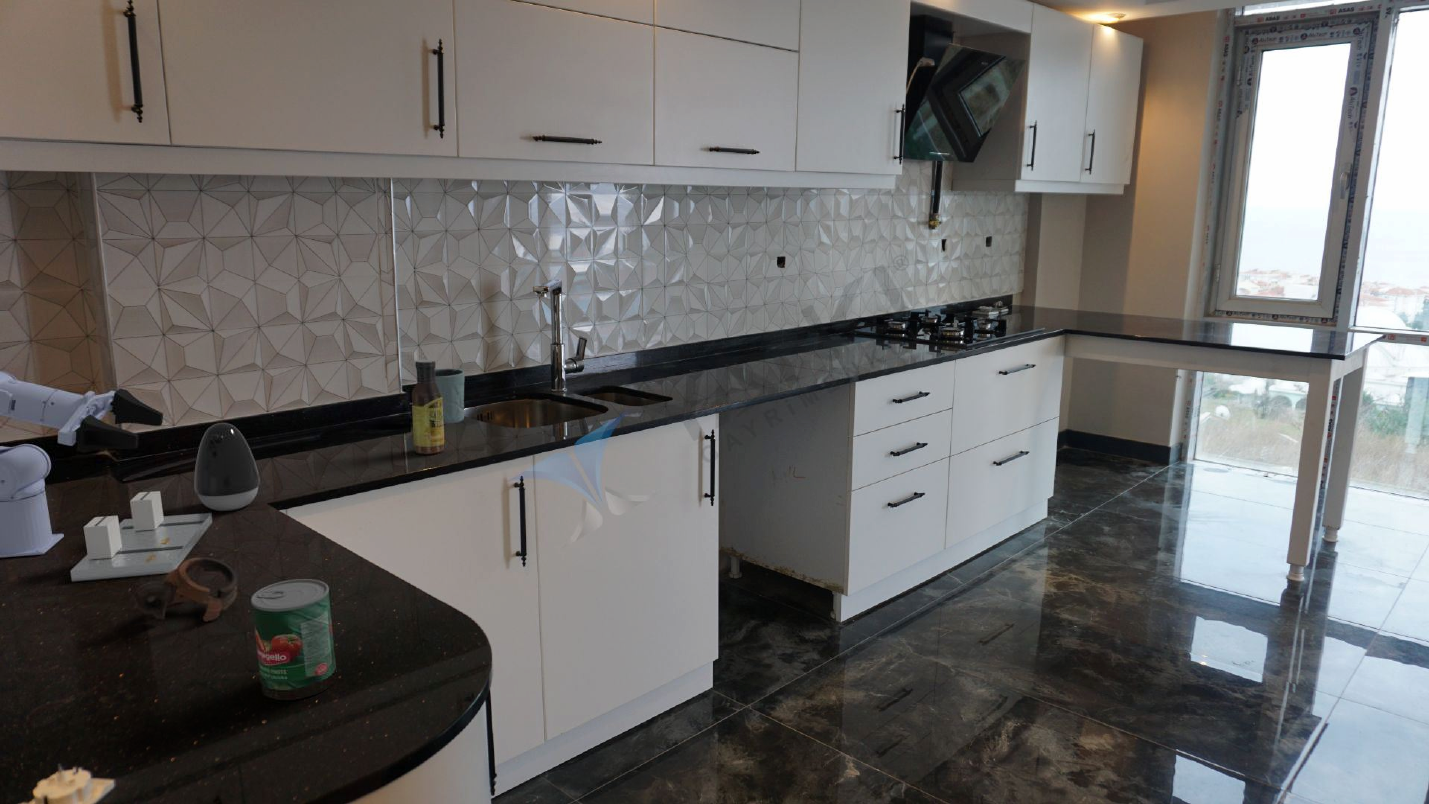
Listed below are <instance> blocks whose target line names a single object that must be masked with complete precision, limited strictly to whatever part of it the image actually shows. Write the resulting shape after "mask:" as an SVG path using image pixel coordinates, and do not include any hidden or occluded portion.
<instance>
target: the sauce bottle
mask: <svg viewBox="0 0 1429 804" xmlns="http://www.w3.org/2000/svg"><path fill="white" fill-rule="evenodd" d="M415 368H416V381H417V383H416V384H415V386H414V388H413V389H412V393H411V398H412V399H411V400H412V404H411V407H412V408H411V410H412V411H411V412H412V426H413V427H412V428H413V429H412V430H413V431H412V433H413V444H414V450H415V453H417V454H419V455H433V454H439V453H442V452H443V450H444V449H445V448H444V445H445V430H444V429H445V427H444V424H443V404H442V395H441V393H440V390H439V388H438V385H437V383H436V378H435V369H436V361H435V360H434V359H420V360H419V359H418V360H415Z"/></svg>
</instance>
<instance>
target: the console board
mask: <svg viewBox="0 0 1429 804" xmlns="http://www.w3.org/2000/svg"><path fill="white" fill-rule="evenodd" d="M163 518H164V521H163V522H162V523H161V524H160V525H159V526H158V527H157V528H156V529H154V530H141V531H134V526H133V519H132V518H124V519H123V520H122V521H121V522H119V528H120V535H121V542H122V548H121V549H120V550H119V551H118V552H117V553H116V554H115V555H114V556H113V557H112V558H102V559H90V560H89V559H88V553H87V554H86V555H85V556H84V557H83V558H82V559H81V560H79V562H78V563H77V564H76V565H75V566H74V567H73V568H72V569H71V570H70V577H71V578H70V579H71V582H79V581H81V582H83V581H92V580H103V579H104V580H105V579H114V578H115V579H116V578H127V577H139V576H140V577H141V576H149V575H160V574H162V575H163V574H169V573H170V572H171V571H173V570H174V569H176V568H178V567H180V565H181V564H182V563H183V562H184V561H185V558H187V556H188V555H189V553H190V551H191V550H192V549H193V548H194V547H195V546H196V544H197V543H198V541H199V540H200V539H201V537H202V536H203V535H204V533H205V532H206V531H207V530H208V529H209V527H210V526H211V525H212V523H213V516H212V512H208V513H207V512H206V513H193V514H192V513H191V514H180V515H167V516H164V515H163Z"/></svg>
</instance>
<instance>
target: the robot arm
mask: <svg viewBox="0 0 1429 804" xmlns="http://www.w3.org/2000/svg"><path fill="white" fill-rule="evenodd" d="M109 413H112V415H114V425H120V424H139V425H145V426H152V427H161V426H162V425H163V422H164V421H163V420H164V413H163V412H161V411H159V410H157V409H155V408H153V407H151V406H150V405H147V404H145V403H143V402H142V401H141V400H139V399H138V398H136V397H135V396H134V395H133V394H131V392H130V391H129V390H127V389H124V388H119V389H117V390H115V391H114V390H110V391H109V392H107V393H102V394H96V392H95V391H92V390H89V391H88V392H86V393H85V394H84V395H82V394H79V393H74V392H69V391H66V390H63V389H58V388H54V387H49V386H45V385H40V384H37V383H32V382H26V381H23V380H18V379H17V378H16V377H15V376H14V375H13V374H11V373H9V372H7V371H3V370H0V416H2V417H7V418H12V419H15V420H19V421H24V422H28V423H32V424H36V425H41V426H45V427H48V428H54V429H57V430H58V432H57V433H58V434H57V443H58V444H61V445H66V446H71V447H72V446H74V445H75V444H77V445H76V446H77V447H76V448H77V451H78V452H81V453H87V452H92V451H98V450H105V449H137V448H138V446H139V434H137V433H134V432H133V431H130V430H127V429H123V428H119V427H117V426H114V425H111V424H108V423H106V422H105V421H102V420H103V418H104V417H106V415H108V414H109ZM51 468H52V463H51V459H50V456H49V454H48V453H47V452H46V451H45V450H44V449H43V448H41V447H39V446H37V445H34V444H29V443H23V444H19V445H15V446H12V447H11V446H10V447H9V446H3V445H1V446H0V558H11V557H24V556H26V557H27V556H36V555H38V556H39V555H44V554H45V553H46V552H48V551H49V550H50V549H51V548H52V547H54V546H55V545H56V544H57V543H58V542H60V540H62V538H64V533H52V525H51V520H50V514H49V513H50V511H49V509H48V500H47V494H46V489H45V486H46V482H45V479H46V478H47V476H48V475H49V474H50V471H51Z"/></svg>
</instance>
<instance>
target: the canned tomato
mask: <svg viewBox="0 0 1429 804" xmlns="http://www.w3.org/2000/svg"><path fill="white" fill-rule="evenodd" d="M329 589H330V588H329V585H328V584H327V583H325V582H324V581H321V580H318V579H311V578H309V579H308V578H300V579H299V578H296V579H288V580H283V581H278V582H275V583H272V584H269V585H267V586H265V587H262V588H260V589H259V590H257V591H256V592H254V594H252V596H251V598H250V603H251V607H252V618H253V625H254V634H255V644H256V651H257V652H256V653H257V659H258V660H257V662H258V669H259V678H260V684H261V683H262V684H263V686H264V687H268V688H270V689H275V690H292V689H293V690H294V689H298V688H301V687H307V686H309V685H312V684H315V683H317V682H321V681H323V680H324V679H327V678H328V677H329V676H331V675H332V673H334V671H335V669H336V670H337V666H336V653H335V642H334V634H333V626H332V625H333V621H332V614H331V602H330V594H329V592H330V590H329Z"/></svg>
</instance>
